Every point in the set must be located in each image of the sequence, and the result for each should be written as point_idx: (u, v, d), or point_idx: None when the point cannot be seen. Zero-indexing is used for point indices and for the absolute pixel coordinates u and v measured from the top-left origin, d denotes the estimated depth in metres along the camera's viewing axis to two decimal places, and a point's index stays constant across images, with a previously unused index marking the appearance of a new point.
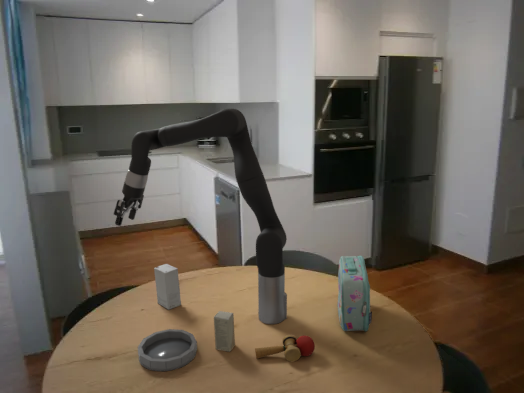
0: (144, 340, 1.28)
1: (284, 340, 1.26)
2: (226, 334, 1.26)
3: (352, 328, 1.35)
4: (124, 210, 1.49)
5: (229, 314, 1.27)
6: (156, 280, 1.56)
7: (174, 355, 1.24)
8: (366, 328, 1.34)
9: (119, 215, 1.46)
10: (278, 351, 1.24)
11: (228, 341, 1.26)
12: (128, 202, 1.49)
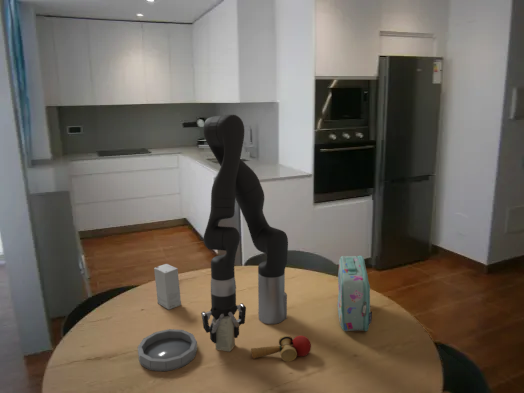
0: (144, 340, 1.28)
1: (280, 340, 1.26)
2: (226, 334, 1.26)
3: (352, 328, 1.35)
4: None
5: None
6: (156, 280, 1.56)
7: (174, 355, 1.24)
8: (366, 328, 1.34)
9: None
10: (274, 351, 1.24)
11: (228, 341, 1.26)
12: None
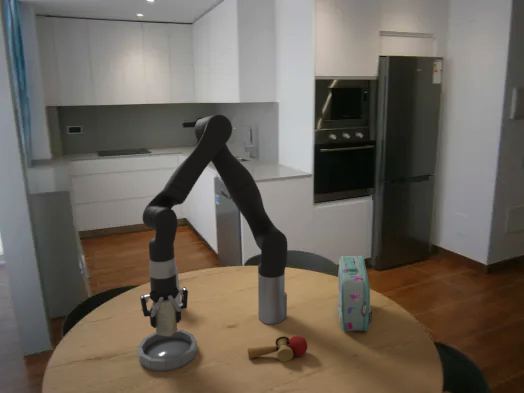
0: (144, 340, 1.28)
1: (277, 340, 1.26)
2: (166, 318, 1.21)
3: (352, 328, 1.35)
4: None
5: None
6: None
7: (174, 355, 1.24)
8: (366, 328, 1.34)
9: None
10: (271, 351, 1.23)
11: (168, 326, 1.21)
12: None
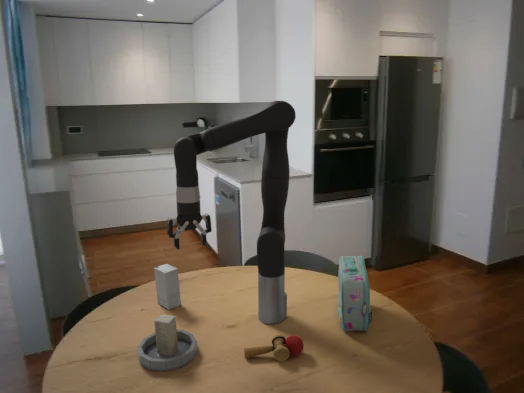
0: (144, 340, 1.28)
1: (273, 340, 1.26)
2: (166, 338, 1.22)
3: (352, 328, 1.35)
4: None
5: (171, 318, 1.24)
6: (156, 280, 1.56)
7: (174, 355, 1.24)
8: (366, 328, 1.34)
9: None
10: (267, 351, 1.24)
11: (169, 346, 1.23)
12: None
